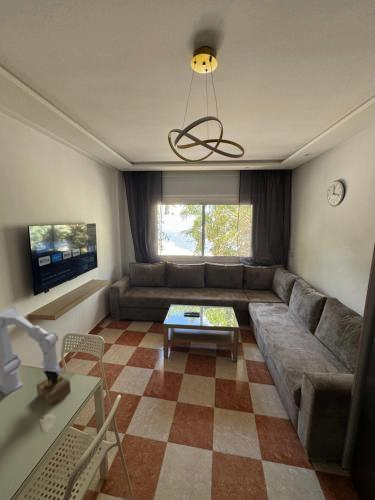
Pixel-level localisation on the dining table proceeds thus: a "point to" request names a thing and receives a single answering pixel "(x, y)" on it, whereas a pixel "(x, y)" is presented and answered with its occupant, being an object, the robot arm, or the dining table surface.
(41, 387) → the box
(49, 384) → the gold metal block
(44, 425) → the arrowhead
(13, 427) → the dining table surface
